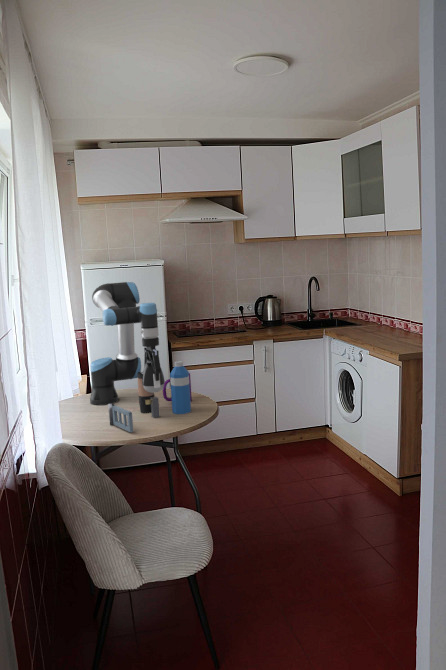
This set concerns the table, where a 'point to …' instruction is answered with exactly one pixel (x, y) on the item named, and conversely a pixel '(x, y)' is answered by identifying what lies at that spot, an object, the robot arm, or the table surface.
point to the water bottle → (180, 389)
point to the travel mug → (143, 395)
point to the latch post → (154, 406)
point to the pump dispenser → (151, 378)
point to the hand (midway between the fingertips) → (153, 385)
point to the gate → (124, 412)
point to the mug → (171, 397)
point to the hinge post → (111, 413)
